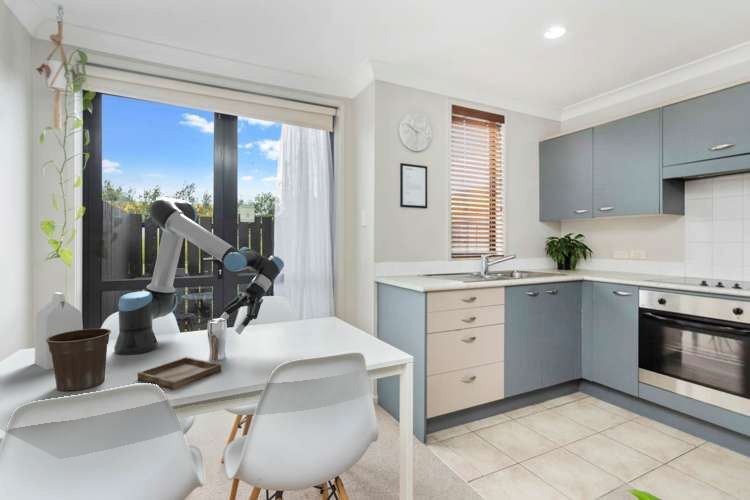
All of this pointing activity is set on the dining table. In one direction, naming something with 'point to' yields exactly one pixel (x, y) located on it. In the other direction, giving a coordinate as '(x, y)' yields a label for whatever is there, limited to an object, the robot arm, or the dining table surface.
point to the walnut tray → (179, 373)
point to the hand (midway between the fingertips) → (226, 329)
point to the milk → (54, 326)
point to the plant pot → (79, 358)
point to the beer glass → (217, 339)
